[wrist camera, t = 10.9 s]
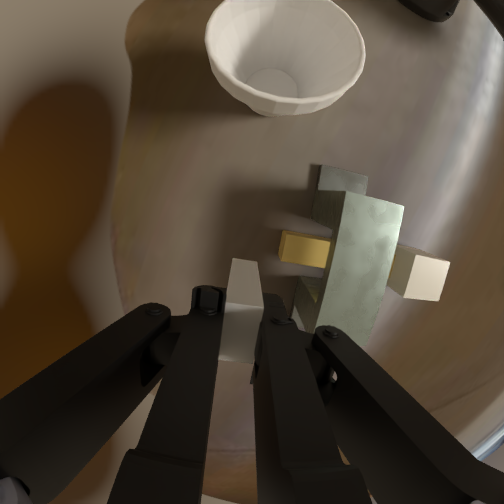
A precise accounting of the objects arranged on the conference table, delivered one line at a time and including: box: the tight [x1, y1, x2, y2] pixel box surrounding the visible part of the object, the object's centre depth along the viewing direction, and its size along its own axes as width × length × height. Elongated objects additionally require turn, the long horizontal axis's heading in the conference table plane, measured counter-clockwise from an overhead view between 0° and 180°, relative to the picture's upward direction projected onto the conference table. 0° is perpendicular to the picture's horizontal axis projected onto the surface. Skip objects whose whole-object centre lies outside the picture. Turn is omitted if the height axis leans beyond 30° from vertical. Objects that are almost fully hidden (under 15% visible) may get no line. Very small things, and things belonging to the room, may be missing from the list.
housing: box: [290, 165, 404, 346], centre depth 28 cm, size 20×6×10 cm, turn 171°
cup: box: [204, 0, 366, 117], centre depth 21 cm, size 12×12×14 cm
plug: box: [278, 230, 450, 301], centre depth 29 cm, size 5×20×7 cm, turn 80°
